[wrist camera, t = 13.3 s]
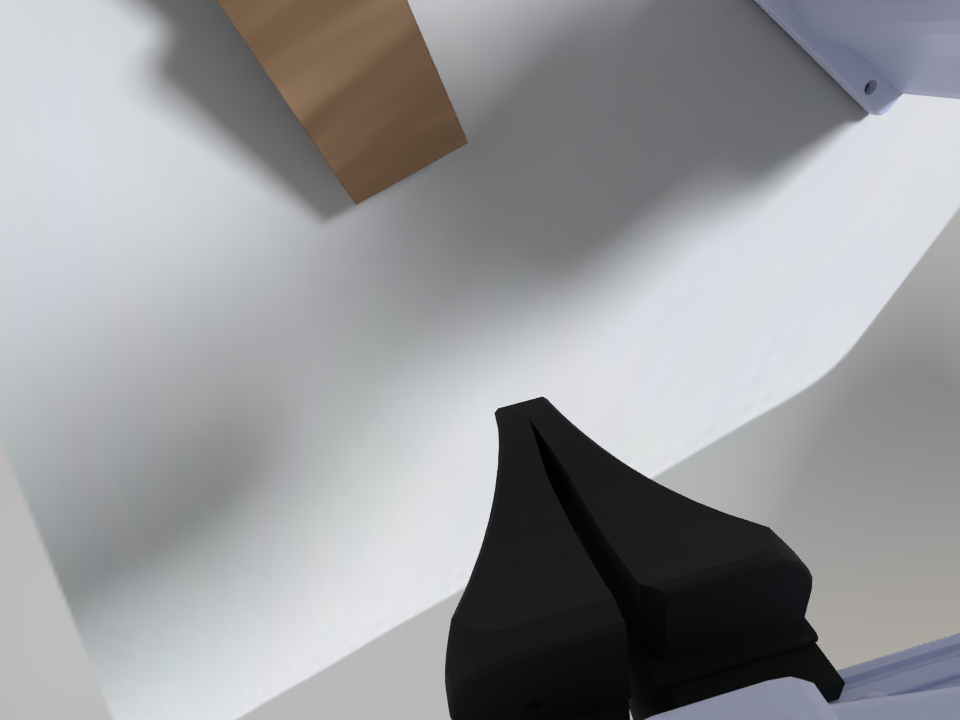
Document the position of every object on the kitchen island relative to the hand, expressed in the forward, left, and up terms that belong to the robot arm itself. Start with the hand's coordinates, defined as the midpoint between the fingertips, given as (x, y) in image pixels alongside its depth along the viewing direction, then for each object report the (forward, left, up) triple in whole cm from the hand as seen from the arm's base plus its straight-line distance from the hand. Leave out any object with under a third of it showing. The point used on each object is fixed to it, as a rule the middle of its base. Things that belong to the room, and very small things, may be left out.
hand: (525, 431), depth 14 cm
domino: (+5, -3, -9) cm, 11 cm away
